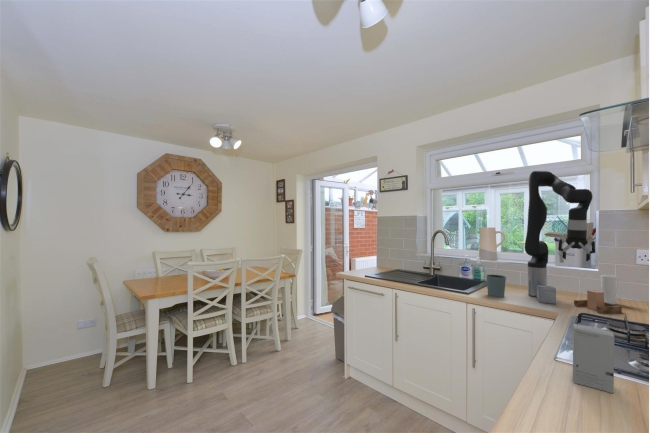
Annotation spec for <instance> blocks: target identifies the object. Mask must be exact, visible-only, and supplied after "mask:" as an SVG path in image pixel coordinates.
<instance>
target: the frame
mask: <svg viewBox="0 0 650 433" xmlns="http://www.w3.org/2000/svg"><path fill="white" fill-rule="evenodd" d="M573 305H574V307H588V306H587V299H574V300H573ZM622 308H623V307H622V306H621V305H617V304H610V303H606V302H604V306H597V311H596V313H597V312H598V313H597V314H619V313H620V314H622V312H623V309H622Z"/></svg>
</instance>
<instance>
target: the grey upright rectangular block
mask: <svg viewBox="0 0 650 433" xmlns="http://www.w3.org/2000/svg"><path fill="white" fill-rule="evenodd" d="M572 326H573V329H572V330H573V331H572V337H573V338H572V382H573V383H574V384H577V385H582V386H584V387H589V388H592V389H595V390H600V391H603V392H607V393H611V394H614V392H615V391H614V386H615V385H614V384H615V379H614V378H615V374H614V373H615V334H614V333H613V331H612V330H608V329H604V328H599V327H594V326H589V325H584V324H578V323H573V325H572Z"/></svg>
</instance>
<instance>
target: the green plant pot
mask: <svg viewBox="0 0 650 433" xmlns="http://www.w3.org/2000/svg"><path fill="white" fill-rule="evenodd" d="M506 280H507V276H504V275H501V274H486V284H487V286H486V288H487V295H488V296H489V297H492V298H504V297H505V291H506Z"/></svg>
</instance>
